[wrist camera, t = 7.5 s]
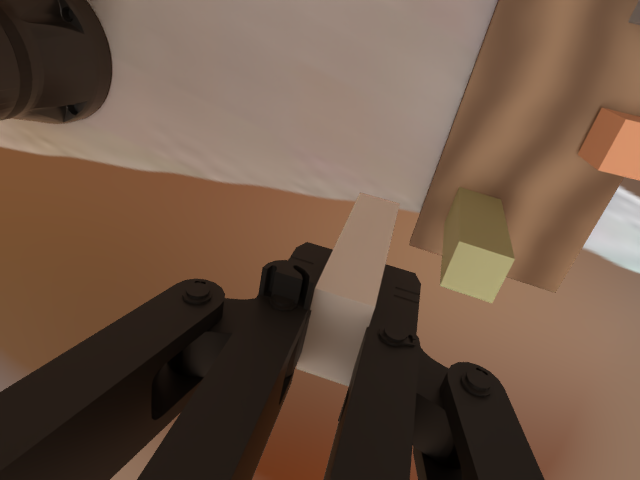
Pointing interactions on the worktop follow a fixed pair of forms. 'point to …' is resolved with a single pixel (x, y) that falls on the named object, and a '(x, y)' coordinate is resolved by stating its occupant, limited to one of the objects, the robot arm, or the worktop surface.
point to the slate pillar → (635, 15)
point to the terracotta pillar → (614, 144)
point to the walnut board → (538, 128)
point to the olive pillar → (476, 246)
